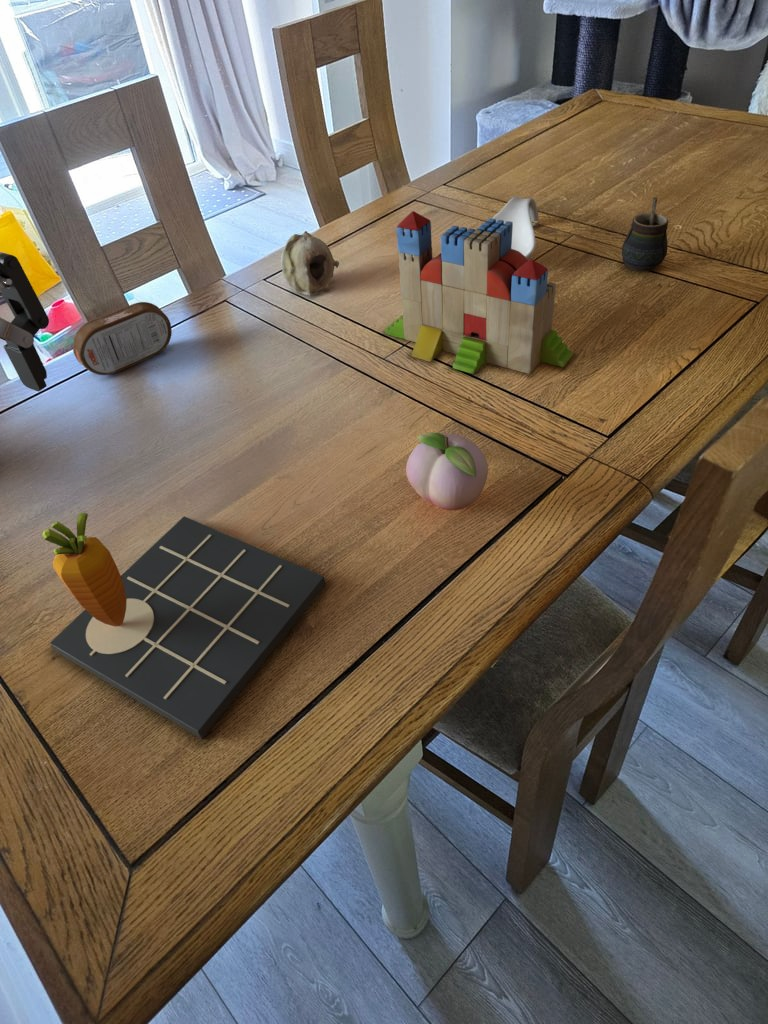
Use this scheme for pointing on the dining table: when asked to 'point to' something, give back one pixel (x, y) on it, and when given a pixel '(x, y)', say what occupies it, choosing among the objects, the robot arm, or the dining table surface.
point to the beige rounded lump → (307, 264)
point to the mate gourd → (646, 241)
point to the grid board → (193, 623)
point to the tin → (122, 338)
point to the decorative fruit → (447, 470)
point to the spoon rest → (521, 223)
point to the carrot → (89, 572)
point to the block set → (475, 298)
